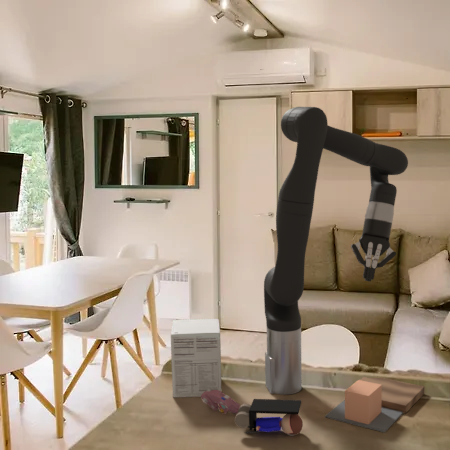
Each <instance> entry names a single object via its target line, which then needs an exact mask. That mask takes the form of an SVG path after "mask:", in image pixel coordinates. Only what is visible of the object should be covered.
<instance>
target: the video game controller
mask: <svg viewBox="0 0 450 450" xmlns="http://www.w3.org/2000/svg"><path fill="white" fill-rule="evenodd" d="M200 398H201V401H202V402H203V403H204V404H206V405H208V406H209V407H210V408H211V409H212V410H213V411H217V410H219V412H220V413H221V414H223V415H226V414H227V413H228V412H230V413H232V414H236V415H237V414H238V410H239V408H240V406H241V404H240V403H239V402H237V401H235V400H234V399H233V398H232V397H231V396H229V395H228V394H225V393H224V392H222V390H221V391H219V390H210V389H208V390H207V391H205V392H203V394H202V395H201V396H200Z"/></svg>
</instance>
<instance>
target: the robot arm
mask: <svg viewBox="0 0 450 450" xmlns="http://www.w3.org/2000/svg"><path fill="white" fill-rule="evenodd" d="M280 128H281V132H282V134H283V135H284V137H285V138H287V140H289V141H291V142H294V143H296V152H295V157H294V161H293V164H292V167H291V168H290V171H289V172H288V174H287V176H286V178H285V179H284V181H283V183H282V185H281V187H280V189H279V192H278V199H277V204H276V205H277V206H276V214H275V229H276V231H275V232H276V239H277V255H276V262H275V266H273V267H271V268H270V269H269V270H268V272H267V273H266V275H265V277H264V281H263V297H264V298H263V301H264V303H263V304H264V315H265V319H266V323H265V324H266V351H265V352H264V360H265V361H264V363H265V365H264V369H265V370H264V371H265V373H264V374H265V377H264V378H265V379H264V381H265V387H266V388H267V390H268V392H269V393H270V394H277V395H292V394H297V393H299V392H301V390H302V389H303V388H302V383H303V382H302V381H303V379H302V316H301V314H300V307H299V300H300V298H301V297H302V295H303V293H304V289H305V288H304V287H305V262H306V261H305V259H306V251H307V246H308V241H309V236H310V231H311V230H310V229H311V222H312V217H313V211H314V203H315V193H316V186H317V181H318V175H319V168H320V163H321V159H322V154H323V150H326V151H329V152H332V153H334V154H336V155H338V156H341V157H343V158H345V159H347V160H350V161H352V162H354V163H357V164H359V165H362V166H364V167H369V173H370V175H369V177H370V186H371V188H370V189H371V190H370V194H369V201H368V204H367V207H366V212H365V214H364V222H363V228H362V234H361V236H360V238H359V239H358V242H357V241H356V242H355V243H352V244H350V249H351V250H352V252H353V254H354V256H355V258H356V260H357V262H358V264H360V265H362V266H363V273H362V279H364V281H365V282H372V280H374V279H375V274H376V273H375V272H376V269H377V268H383V267H384V266H385V265H386V264H387V263H389V262H390V261H391V260H392V259H393V258H394V257H396V255H397V252H396V251H394V250H393V249H392V248H391V242H390V238H391V231H392V227H393V222H394V214H395V203H396V198H397V192H398V190H397V189H398V188H397V186H396V185H395V184H393V183H390V181H389V176H398V175H402V174H403V173H404V172H405V171H406V170H407V168H408V165H409V159H408V157H407V155H406V153H405V152H403V150H401V149H398V148H396V147H393V146H391V145H390V146H389V145H385V144H382V143H381V144H380V143H377V142H375V141H372V140H371V139H368V138H366V137H365V136H362V135H359V134H357V133H354V132H351V131H350V132H349V131H347V130H343V129H341V128H338V127H337V128H336V127H334V126H330V125H329V124H328V118H327V114H326V113H325V112H324V110H323V109H322V108H320V107H316V106H295V107H291V108H290V109H287V110H286V111H285V113H283V115H282V118H281V119H280ZM360 249H361V250H362V251H363V253H364V256H365V257H364V258H363V256H362V254H361V251H360ZM383 254H386V255H385V257H383V259H382V260H381V261H379V259H380V257H381V256H382V255H383ZM378 261H379V262H378Z"/></svg>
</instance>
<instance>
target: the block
mask: <svg viewBox="0 0 450 450" xmlns="http://www.w3.org/2000/svg"><path fill="white" fill-rule="evenodd" d="M344 400H345V419H349V420H353V421H357V422H361V423H365V424H370V423H371V422H372V421H373V420H374V419H375V418H376V417H377V416H378V415H379V414H380V413H381V402H382V385H381V384H376V383H371V382H367V381H362V380H360V379H357V380H356V381H355V382H354V383H353V384H351V385H350V386H349V387H347V389H345V390H344Z"/></svg>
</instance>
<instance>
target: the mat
mask: <svg viewBox="0 0 450 450" xmlns="http://www.w3.org/2000/svg"><path fill="white" fill-rule="evenodd" d="M402 415H404V413H403V412H402V411H398V410H393V409H389V408H385V407H381V413H380V414H379V415H378V416H377V417H376V418H375V419H374V420H373V421H372V422H371V423H370V424H365V423H361V422H357V421H353V420H349V419H345V399H344V400H343V401H341V402H340V403H339V404H337V405H336V406H335V407H334V408H333V409H332V410H330V411H329V412H328V413H327V414H325V415H324V416H325V418H328V419H331V420H335V421H339V422H343V423H346V424H351V425H353V426H358V427H361V428H365V429H370V430H373V431H377V432H381V433H386V432H387V431H388V430H389V429H390V428H391V427H392V425H394V424H395V422H396V421H397V420H399V418H400V417H401V416H402Z"/></svg>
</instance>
